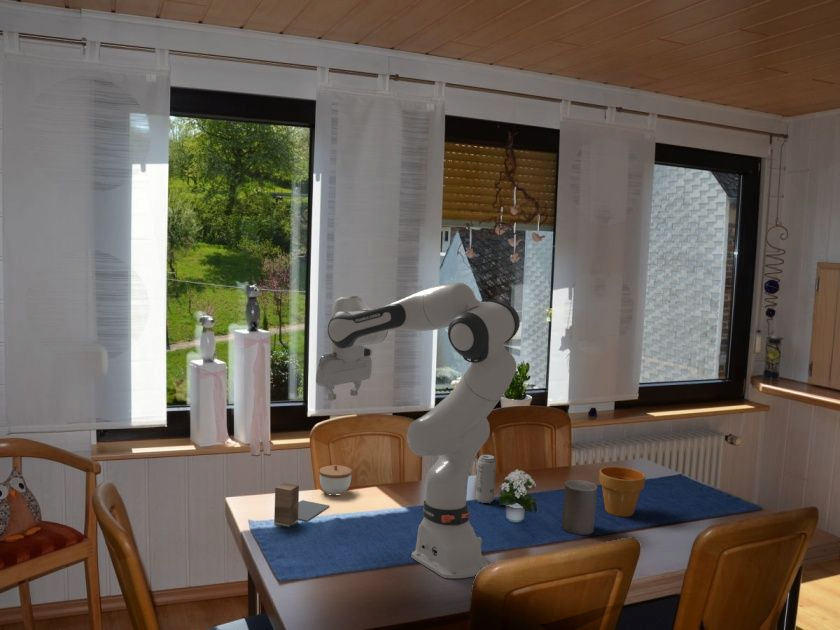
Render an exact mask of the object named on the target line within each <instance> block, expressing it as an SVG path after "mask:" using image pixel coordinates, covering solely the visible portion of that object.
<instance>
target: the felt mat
mask: <svg viewBox="0 0 840 630" xmlns="http://www.w3.org/2000/svg"><path fill="white" fill-rule="evenodd" d="M329 506H330V505H328V504H324V503H319V502H315V501H314V502H313V501H310V500H309V501H307V500H304V499H303V500H300V501H299V504H298V521H301V520H302V522H306V521H307V522H309V521H310V520H312V519H313V518H315V517H316V516H318V515H320V514H321V513H322V511H323V510H324V511H326V510H327V509H329V508H330V507H329ZM328 507H329V508H328ZM326 508H327V509H326ZM325 509H326V510H325ZM324 511H323V512H324ZM319 513H320V514H319ZM311 518H312V519H311ZM308 520H309V521H308Z"/></svg>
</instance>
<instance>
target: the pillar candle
mask: <svg viewBox="0 0 840 630" xmlns="http://www.w3.org/2000/svg"><path fill="white" fill-rule="evenodd" d="M563 490H564V493H563V507H562V518H561V528H562V530H564V531H566V532H567V533H570V534H574V535H581V536H582V535H590V534H592V533H594V530H595V519H596V505H597V497H598V495H597V494H598V485H596V484H595V483H594V482H590V481H588V480H582V479H570V480H567V481H565V483H564V489H563Z"/></svg>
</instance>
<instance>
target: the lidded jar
mask: <svg viewBox="0 0 840 630" xmlns="http://www.w3.org/2000/svg"><path fill="white" fill-rule="evenodd" d="M318 471H319V484H320V487H321V489H322V490H323V492H324V493H325V494H326V493H327V494H331V495H336V494H342V493H344V494H345V493H346V492H347V490H348V489H349V488H350V486H351V481H352V474H353V470H352V469H351V468H350V467H348V466H345V465H338V464H334V465H326V466H323V467H321V468H319V470H318ZM327 494H326V495H327ZM331 495H330V496H331Z"/></svg>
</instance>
